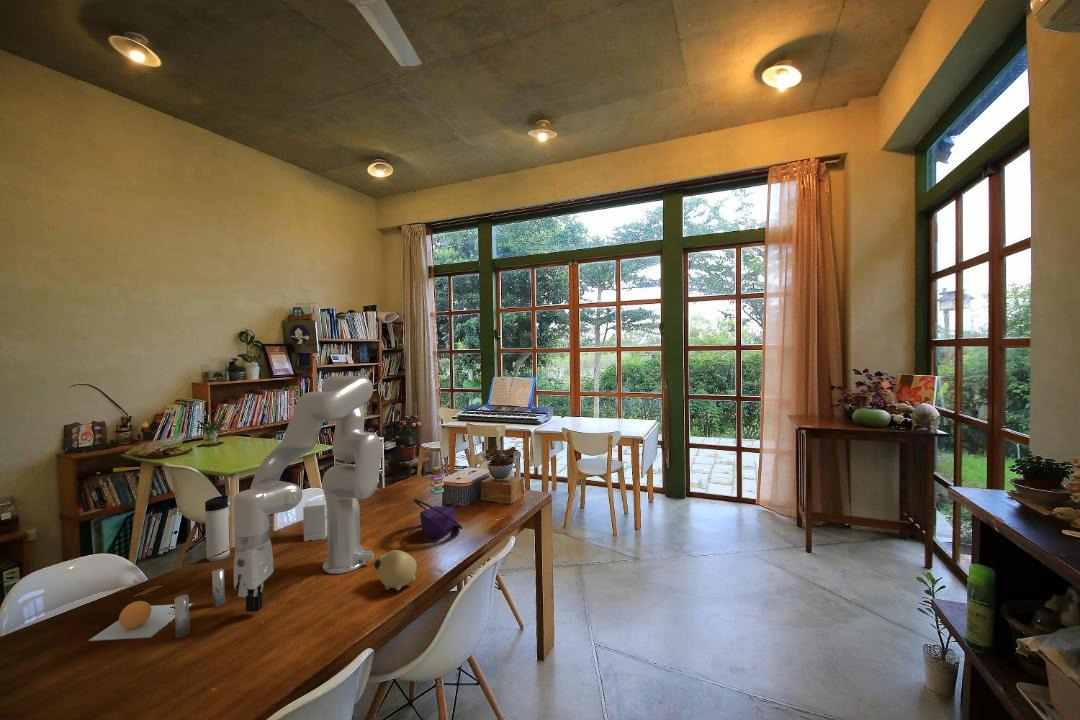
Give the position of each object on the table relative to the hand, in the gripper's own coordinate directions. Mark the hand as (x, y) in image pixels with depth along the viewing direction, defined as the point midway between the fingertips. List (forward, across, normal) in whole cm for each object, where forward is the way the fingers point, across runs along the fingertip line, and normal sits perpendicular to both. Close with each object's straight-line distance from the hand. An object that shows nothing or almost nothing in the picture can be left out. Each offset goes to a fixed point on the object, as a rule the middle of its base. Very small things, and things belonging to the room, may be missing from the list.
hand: (254, 609), depth 113 cm
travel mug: (+2, +36, +32) cm, 48 cm away
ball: (-2, -2, +27) cm, 28 cm away
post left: (+2, -7, +13) cm, 15 cm away
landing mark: (+2, 0, +27) cm, 27 cm away
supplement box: (+2, +50, +6) cm, 50 cm away
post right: (+2, +7, +13) cm, 15 cm away
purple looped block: (+2, +46, -39) cm, 60 cm away
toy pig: (+2, +11, -33) cm, 35 cm away
